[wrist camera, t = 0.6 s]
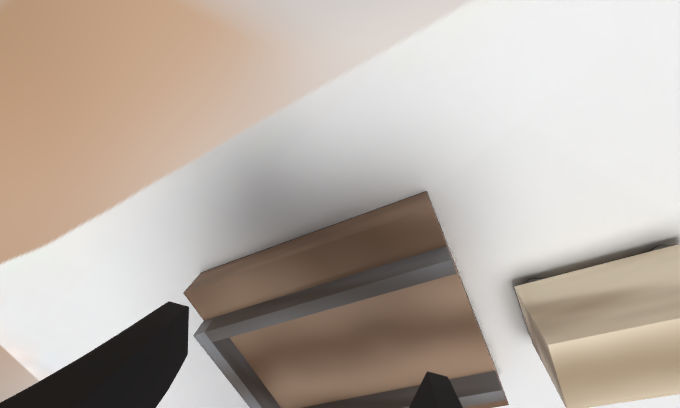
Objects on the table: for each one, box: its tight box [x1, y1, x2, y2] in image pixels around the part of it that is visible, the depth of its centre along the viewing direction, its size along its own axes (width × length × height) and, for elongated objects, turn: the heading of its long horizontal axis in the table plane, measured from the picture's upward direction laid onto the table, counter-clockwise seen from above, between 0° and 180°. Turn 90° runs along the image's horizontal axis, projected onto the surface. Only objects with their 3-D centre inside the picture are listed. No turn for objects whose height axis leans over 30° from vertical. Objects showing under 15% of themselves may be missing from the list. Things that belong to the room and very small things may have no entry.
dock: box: [184, 191, 509, 408], centre depth 19 cm, size 14×15×3 cm
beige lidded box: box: [514, 244, 680, 408], centre depth 15 cm, size 4×8×6 cm, turn 115°
